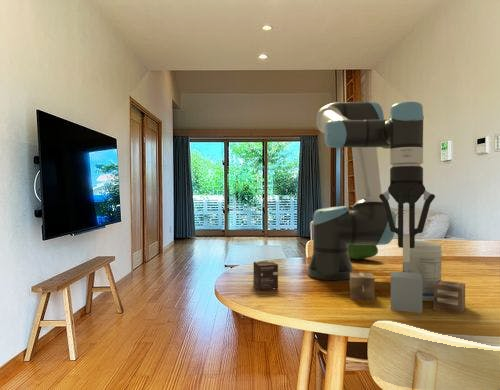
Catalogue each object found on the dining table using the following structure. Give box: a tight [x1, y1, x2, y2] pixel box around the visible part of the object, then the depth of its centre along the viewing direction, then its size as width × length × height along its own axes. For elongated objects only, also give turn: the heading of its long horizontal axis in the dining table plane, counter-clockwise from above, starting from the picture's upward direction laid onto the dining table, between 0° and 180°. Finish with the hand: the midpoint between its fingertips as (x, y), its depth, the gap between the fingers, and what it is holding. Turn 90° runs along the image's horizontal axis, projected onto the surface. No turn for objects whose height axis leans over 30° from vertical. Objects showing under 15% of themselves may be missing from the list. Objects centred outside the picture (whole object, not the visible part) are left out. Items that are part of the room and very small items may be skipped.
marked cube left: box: [349, 271, 376, 302], centre depth 99 cm, size 6×8×6 cm
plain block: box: [390, 270, 423, 314], centre depth 91 cm, size 7×7×8 cm
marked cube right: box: [433, 279, 466, 315], centre depth 90 cm, size 6×6×6 cm
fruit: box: [348, 245, 379, 261], centre depth 153 cm, size 15×10×10 cm, turn 47°
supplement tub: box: [402, 240, 443, 302], centre depth 100 cm, size 10×10×15 cm
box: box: [252, 260, 279, 291], centre depth 110 cm, size 6×6×7 cm
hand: (406, 260), depth 91 cm, fingers closed
